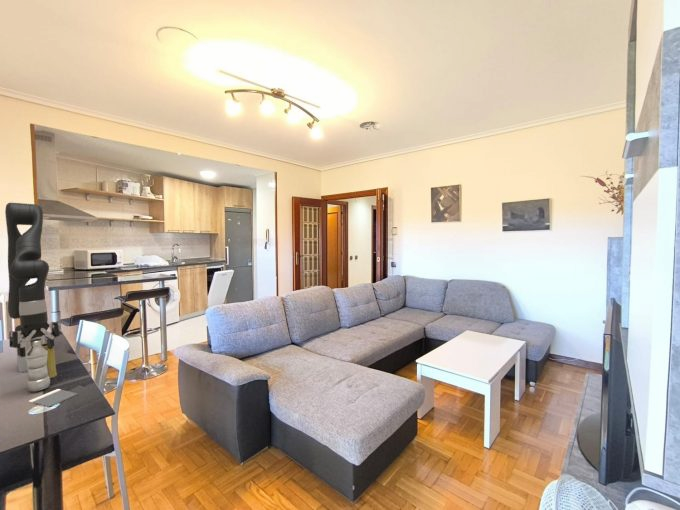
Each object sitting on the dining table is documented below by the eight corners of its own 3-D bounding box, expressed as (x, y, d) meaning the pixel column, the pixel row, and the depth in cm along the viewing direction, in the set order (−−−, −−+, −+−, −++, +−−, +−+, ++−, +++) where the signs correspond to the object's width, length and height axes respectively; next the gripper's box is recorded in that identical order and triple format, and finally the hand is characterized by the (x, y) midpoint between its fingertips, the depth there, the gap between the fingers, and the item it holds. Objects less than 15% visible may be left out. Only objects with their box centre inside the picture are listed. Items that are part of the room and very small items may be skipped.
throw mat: (28, 402, 110) (28, 400, 110) (58, 390, 119) (57, 388, 119) (49, 407, 107) (49, 406, 107) (78, 394, 115) (77, 393, 115)
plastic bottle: (30, 395, 115) (26, 344, 113) (25, 391, 118) (21, 341, 117) (53, 388, 120) (49, 339, 119) (47, 384, 124) (43, 336, 122)
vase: (46, 374, 133) (43, 342, 132) (61, 373, 133) (58, 341, 132) (33, 380, 127) (30, 347, 126) (49, 380, 127) (46, 347, 126)
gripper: (49, 307, 125) (52, 345, 126) (2, 315, 112) (6, 358, 113) (61, 308, 123) (64, 347, 124) (15, 317, 109) (19, 360, 110)
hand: (36, 352), depth 118 cm, fingers open, 8 cm apart
